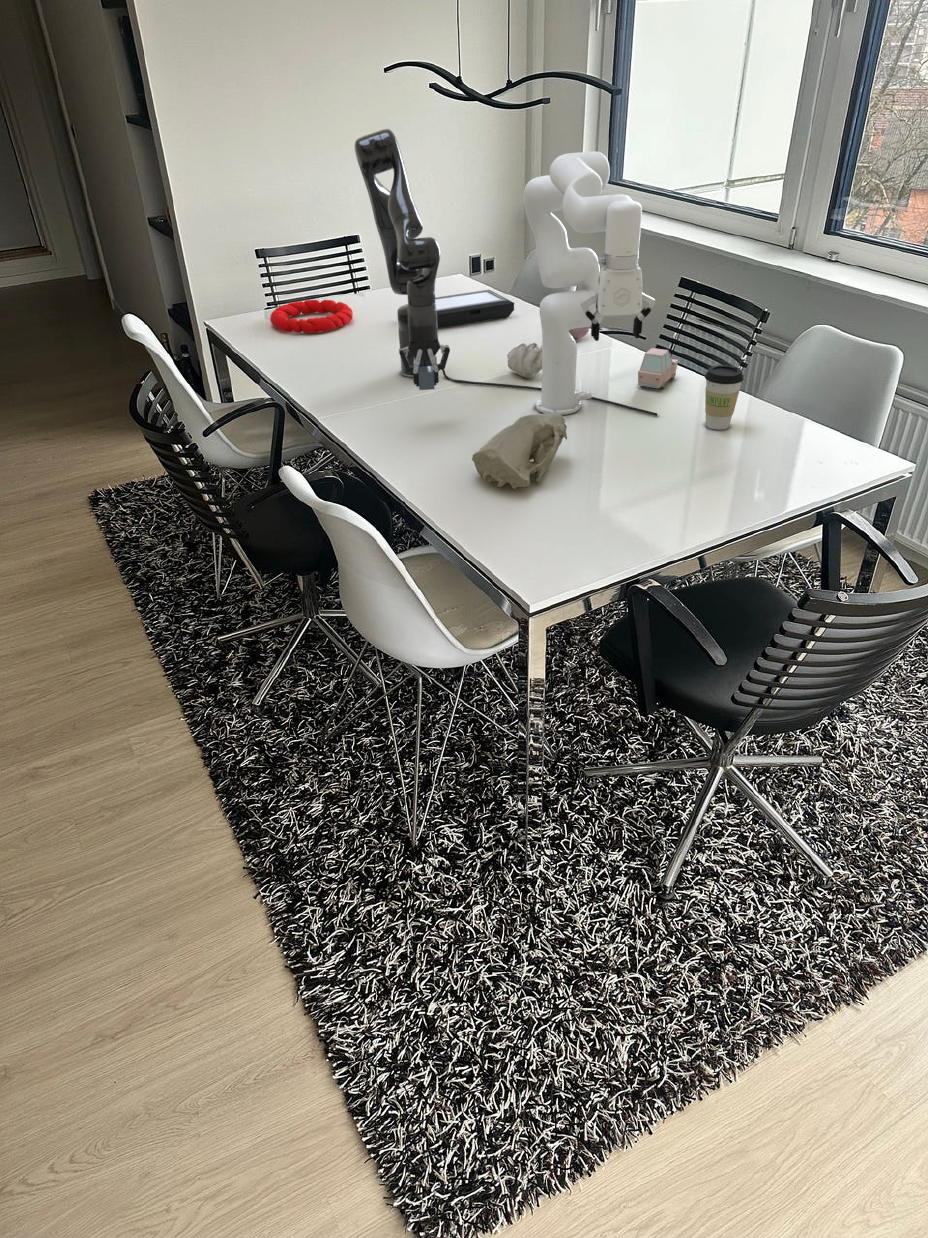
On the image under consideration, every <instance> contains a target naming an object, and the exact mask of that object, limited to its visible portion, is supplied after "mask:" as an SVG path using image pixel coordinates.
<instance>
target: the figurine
mask: <svg viewBox="0 0 928 1238" xmlns="http://www.w3.org/2000/svg"><path fill="white" fill-rule="evenodd" d="M589 330H590V327H582V328H575V329H570V330H569V333H570V335H571V336H572V337H573V338H574V340H577V339H582V338H584V337H585V336H586V335H587V334H588V333H589Z"/></svg>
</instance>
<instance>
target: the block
mask: <svg viewBox="0 0 928 1238" xmlns="http://www.w3.org/2000/svg"><path fill="white" fill-rule="evenodd" d="M418 378H419V387H418V390H419V391H428V390H436V389H435V387H436V386H434V371H433V367H432V366H427V367H418Z"/></svg>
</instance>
